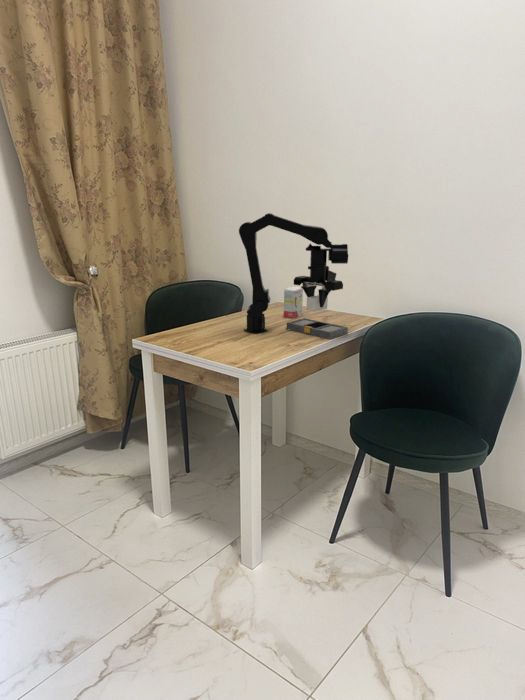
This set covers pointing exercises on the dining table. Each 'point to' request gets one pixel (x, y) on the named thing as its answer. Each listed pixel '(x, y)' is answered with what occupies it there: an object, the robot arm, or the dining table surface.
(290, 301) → the ink box
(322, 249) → the robot arm
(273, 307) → the dining table surface
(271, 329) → the dining table surface
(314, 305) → the light grey rectangular block
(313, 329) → the frame
